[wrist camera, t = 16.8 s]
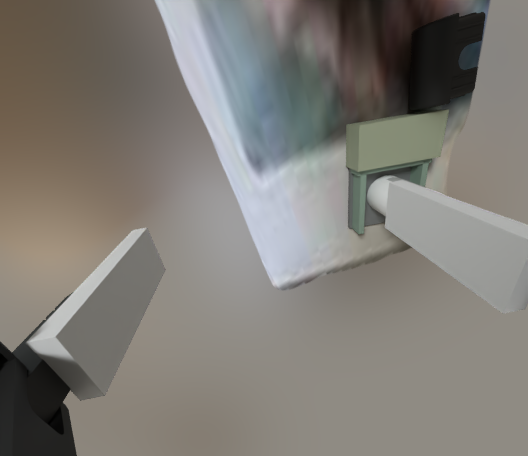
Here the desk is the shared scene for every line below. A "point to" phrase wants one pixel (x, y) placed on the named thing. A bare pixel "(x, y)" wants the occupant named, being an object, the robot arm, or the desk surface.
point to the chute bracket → (389, 156)
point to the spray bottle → (382, 192)
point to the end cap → (442, 60)
